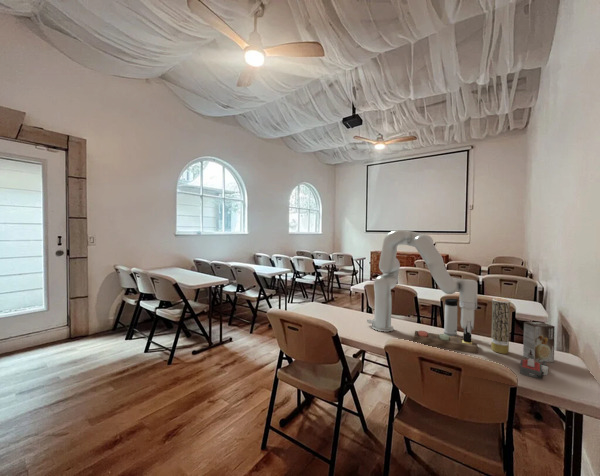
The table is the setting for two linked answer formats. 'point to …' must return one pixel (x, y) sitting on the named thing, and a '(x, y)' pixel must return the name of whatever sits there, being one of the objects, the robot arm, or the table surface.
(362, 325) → the table surface
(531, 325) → the coffee box
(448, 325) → the travel mug
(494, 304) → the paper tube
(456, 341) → the button panel
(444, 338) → the sage button
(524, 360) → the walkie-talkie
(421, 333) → the brick red button
